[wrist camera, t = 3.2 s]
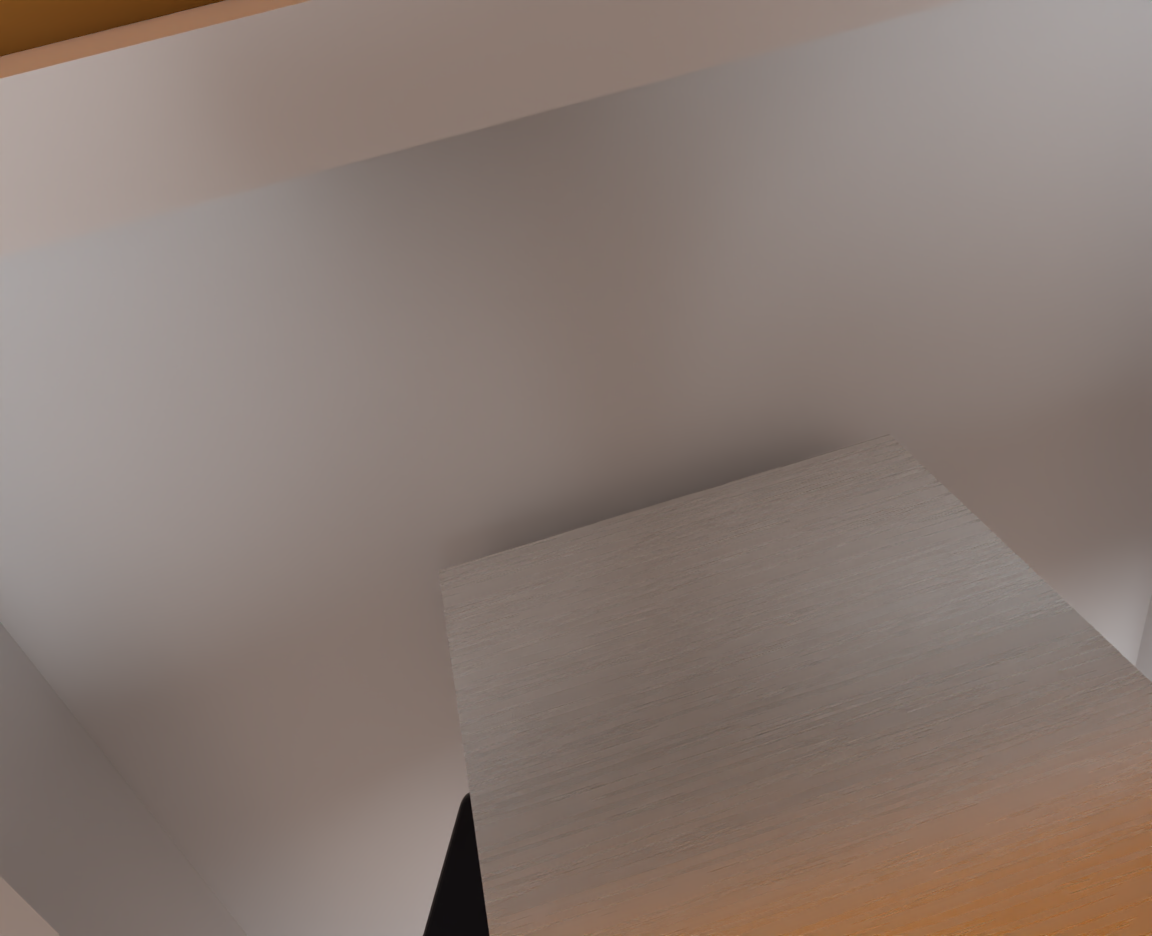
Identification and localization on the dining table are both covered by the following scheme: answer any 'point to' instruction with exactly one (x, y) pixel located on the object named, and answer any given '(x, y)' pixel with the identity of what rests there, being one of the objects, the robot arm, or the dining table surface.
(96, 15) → the dining table surface
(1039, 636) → the billet loose
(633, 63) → the white square tray
